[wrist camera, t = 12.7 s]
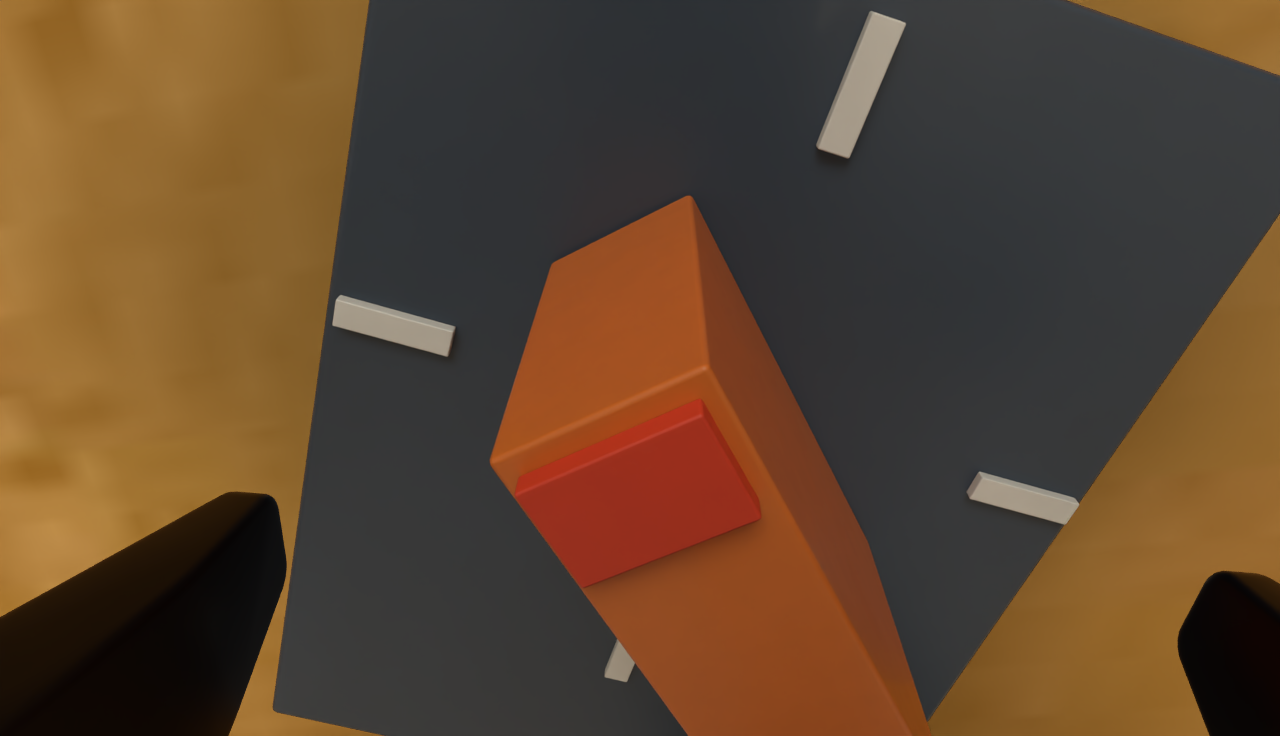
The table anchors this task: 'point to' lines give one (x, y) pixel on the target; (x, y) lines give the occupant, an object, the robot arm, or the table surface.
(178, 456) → the table surface
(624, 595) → the orange block
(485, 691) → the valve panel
